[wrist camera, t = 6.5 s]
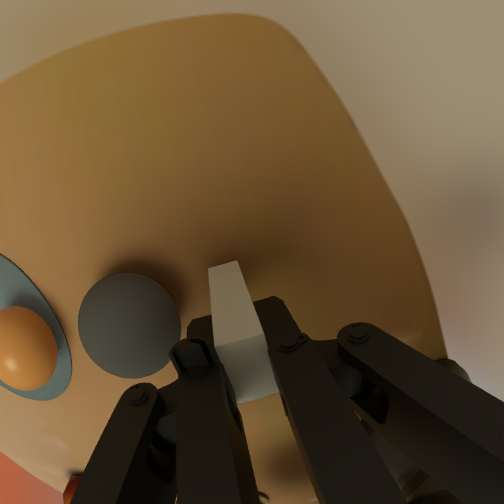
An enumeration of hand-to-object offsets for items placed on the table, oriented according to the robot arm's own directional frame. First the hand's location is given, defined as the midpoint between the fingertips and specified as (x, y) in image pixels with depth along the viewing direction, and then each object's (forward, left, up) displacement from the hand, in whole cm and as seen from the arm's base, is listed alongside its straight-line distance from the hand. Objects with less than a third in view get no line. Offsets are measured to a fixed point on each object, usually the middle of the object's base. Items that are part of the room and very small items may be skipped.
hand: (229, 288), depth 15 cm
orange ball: (+11, +9, +1) cm, 14 cm away
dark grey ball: (+4, +4, +1) cm, 6 cm away
